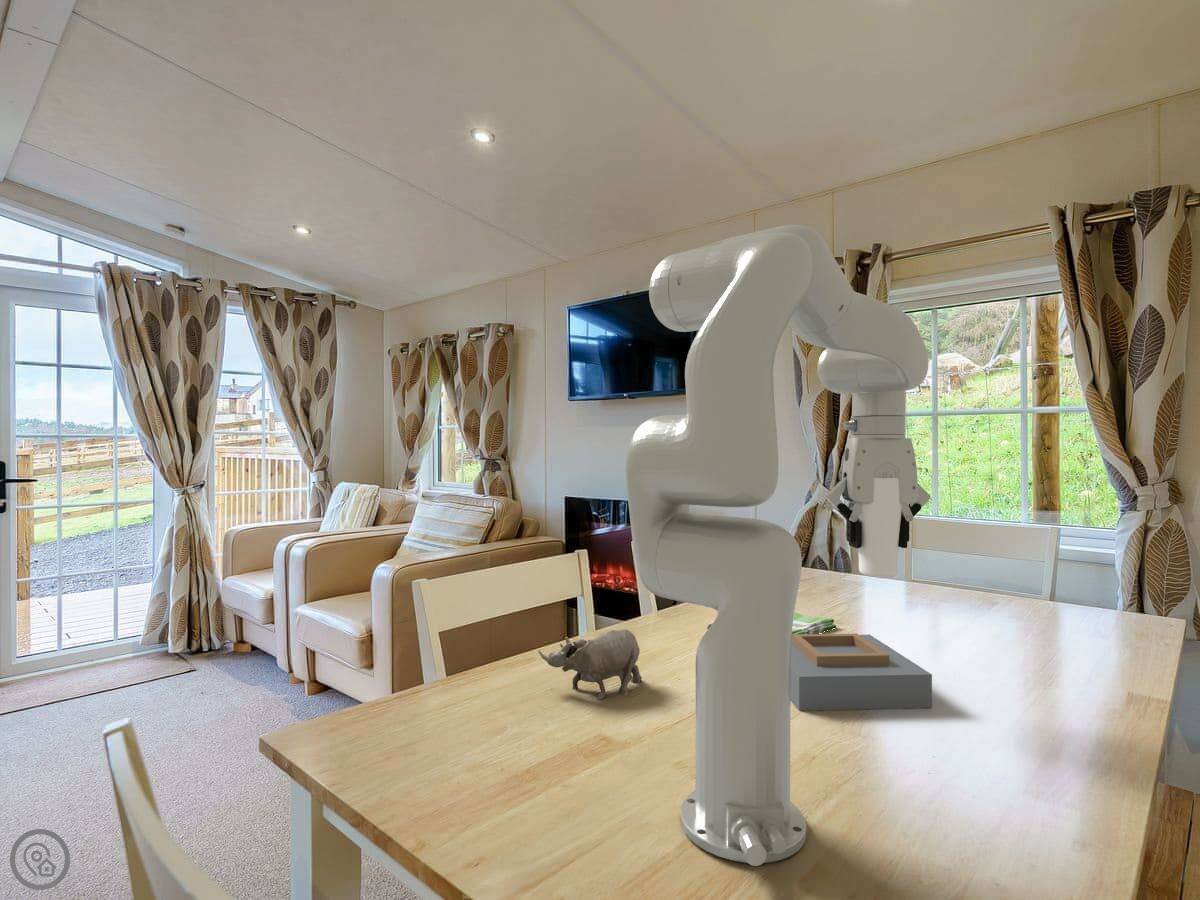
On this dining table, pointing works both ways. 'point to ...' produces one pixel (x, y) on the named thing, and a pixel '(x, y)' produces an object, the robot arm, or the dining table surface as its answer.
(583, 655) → the rhinoceros figurine
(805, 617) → the dish towel
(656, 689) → the dining table surface
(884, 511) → the white tapered cylinder
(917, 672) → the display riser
